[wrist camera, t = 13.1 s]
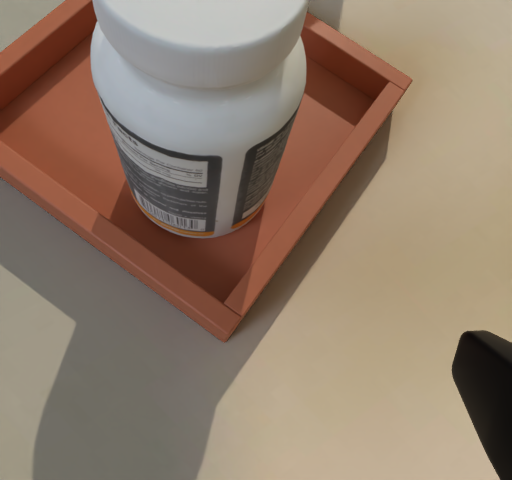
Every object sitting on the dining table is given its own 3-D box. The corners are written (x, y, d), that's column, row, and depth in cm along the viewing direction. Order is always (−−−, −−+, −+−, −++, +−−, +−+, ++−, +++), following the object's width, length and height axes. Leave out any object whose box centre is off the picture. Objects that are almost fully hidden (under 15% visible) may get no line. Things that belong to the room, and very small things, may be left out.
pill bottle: (230, 100, 20) (261, -161, 11) (293, 210, 19) (391, 19, 9) (105, 146, 19) (15, -110, 9) (164, 268, 17) (126, 111, 8)
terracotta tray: (224, 343, 17) (228, 336, 15) (-47, 142, 18) (-76, 111, 16) (394, 108, 22) (413, 79, 20) (167, -39, 23) (164, -81, 21)
